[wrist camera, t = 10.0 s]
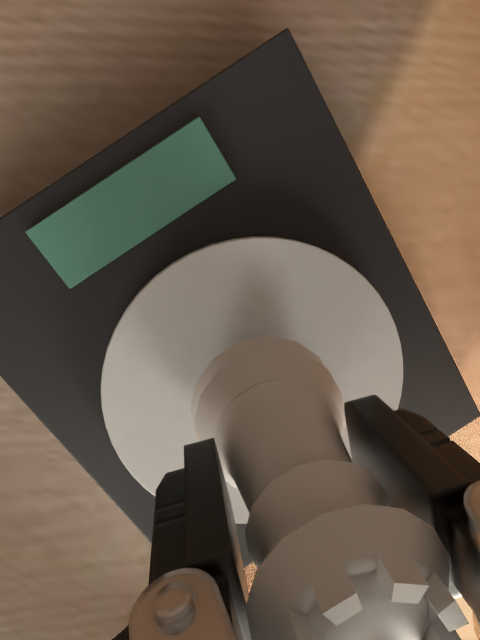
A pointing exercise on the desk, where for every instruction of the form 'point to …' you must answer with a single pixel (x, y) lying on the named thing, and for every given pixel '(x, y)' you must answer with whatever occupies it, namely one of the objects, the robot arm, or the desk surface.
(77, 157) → the desk surface
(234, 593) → the robot arm
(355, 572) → the rook chess piece
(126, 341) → the scale
